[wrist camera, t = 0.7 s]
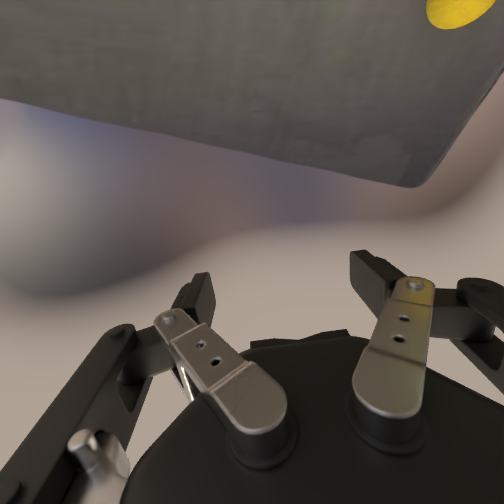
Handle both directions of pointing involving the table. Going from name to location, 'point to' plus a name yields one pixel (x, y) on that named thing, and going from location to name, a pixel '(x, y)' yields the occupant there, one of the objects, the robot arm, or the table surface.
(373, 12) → the table surface
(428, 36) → the table surface
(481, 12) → the lemon
